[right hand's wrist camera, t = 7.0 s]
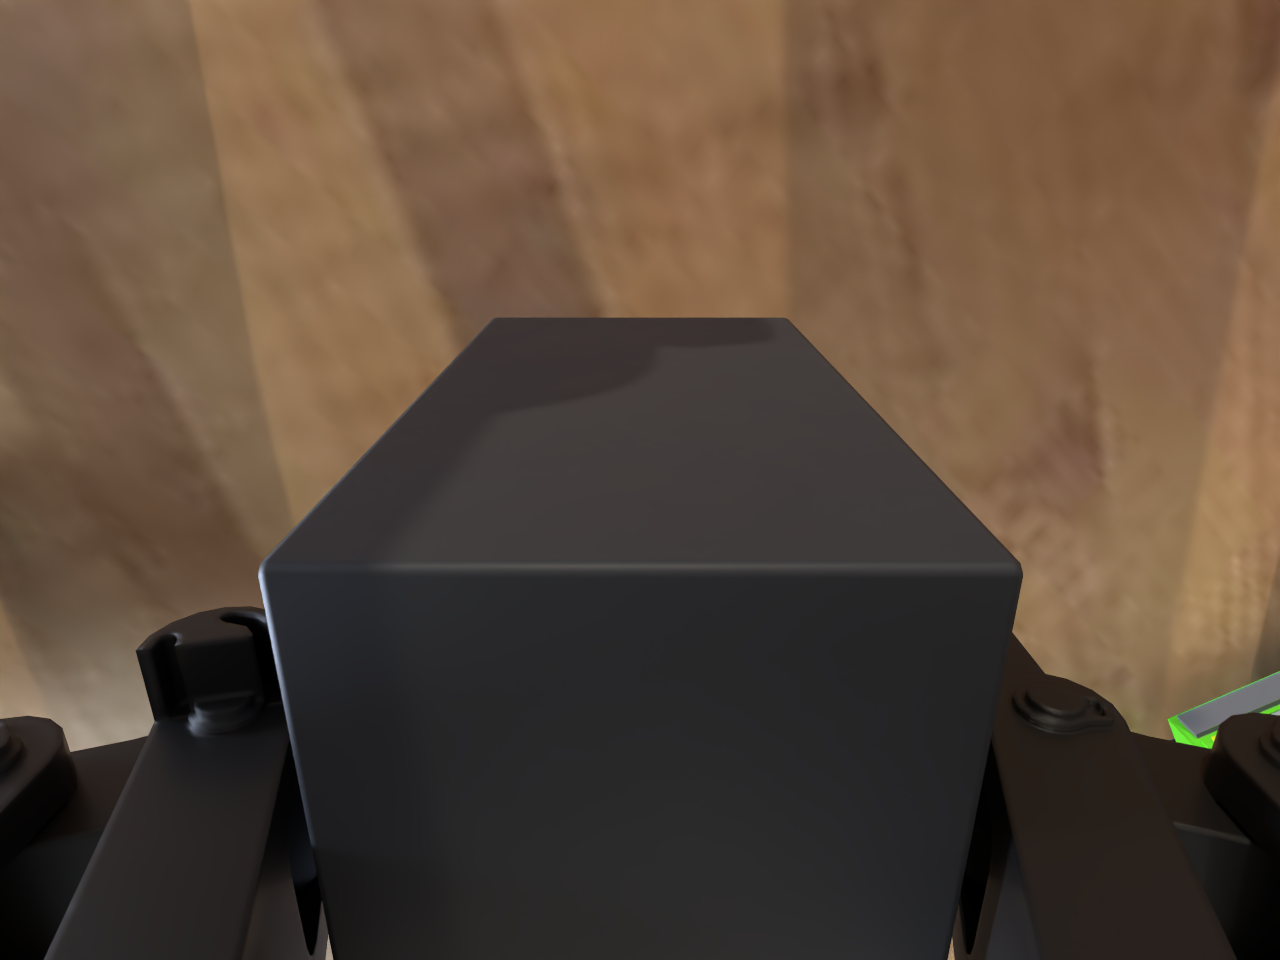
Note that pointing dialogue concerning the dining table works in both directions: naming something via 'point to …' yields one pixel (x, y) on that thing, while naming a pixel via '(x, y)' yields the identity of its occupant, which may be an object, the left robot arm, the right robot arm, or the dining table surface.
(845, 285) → the dining table surface
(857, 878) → the charcoal bar
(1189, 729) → the green cube blue stripe
